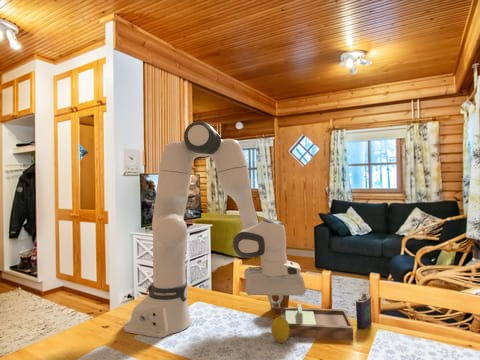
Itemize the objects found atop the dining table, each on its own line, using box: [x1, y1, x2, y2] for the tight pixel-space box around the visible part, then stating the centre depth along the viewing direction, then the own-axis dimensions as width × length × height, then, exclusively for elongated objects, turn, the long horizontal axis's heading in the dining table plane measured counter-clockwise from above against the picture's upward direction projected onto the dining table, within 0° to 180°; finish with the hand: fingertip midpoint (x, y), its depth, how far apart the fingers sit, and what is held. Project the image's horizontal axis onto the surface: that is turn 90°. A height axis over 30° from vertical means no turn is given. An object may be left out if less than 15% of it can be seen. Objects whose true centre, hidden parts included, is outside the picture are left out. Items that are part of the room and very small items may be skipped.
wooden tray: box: [280, 307, 354, 341], centre depth 101 cm, size 22×14×4 cm, turn 82°
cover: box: [286, 303, 316, 325], centre depth 101 cm, size 10×10×4 cm
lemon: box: [270, 315, 290, 344], centre depth 91 cm, size 6×6×8 cm
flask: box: [355, 292, 372, 331], centre depth 102 cm, size 9×3×11 cm, turn 138°
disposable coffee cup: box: [269, 295, 290, 315], centre depth 115 cm, size 10×10×12 cm
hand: (275, 307), depth 103 cm, fingers closed
